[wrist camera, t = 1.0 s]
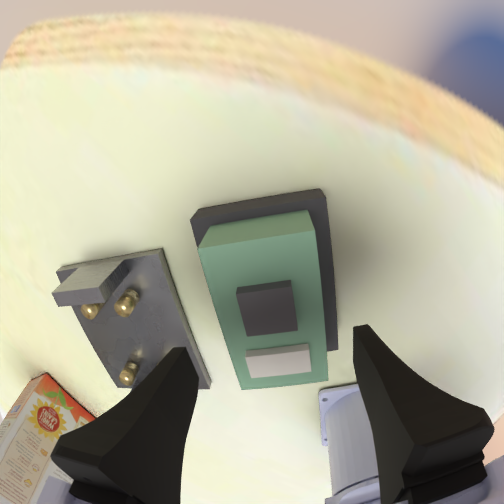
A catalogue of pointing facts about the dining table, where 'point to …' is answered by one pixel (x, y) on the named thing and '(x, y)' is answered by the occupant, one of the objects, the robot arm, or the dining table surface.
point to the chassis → (129, 314)
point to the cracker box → (35, 439)
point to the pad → (279, 205)
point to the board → (268, 298)
